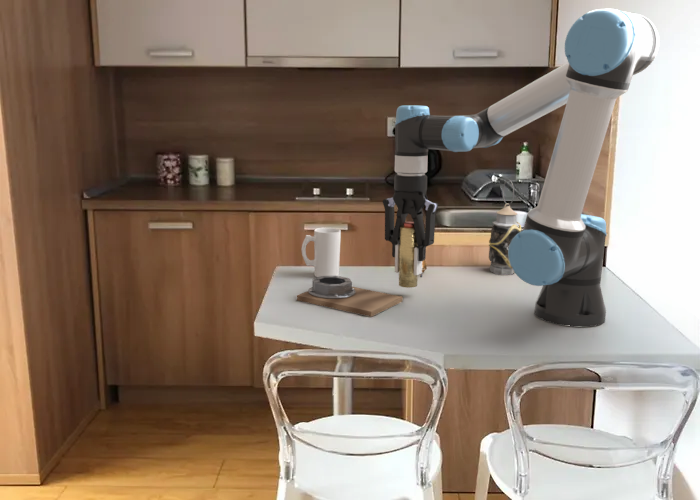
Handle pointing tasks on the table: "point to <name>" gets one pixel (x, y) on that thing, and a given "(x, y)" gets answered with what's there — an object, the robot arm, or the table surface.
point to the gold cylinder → (407, 255)
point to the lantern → (503, 239)
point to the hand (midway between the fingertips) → (408, 272)
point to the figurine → (423, 267)
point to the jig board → (356, 301)
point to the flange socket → (331, 287)
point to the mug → (324, 251)
